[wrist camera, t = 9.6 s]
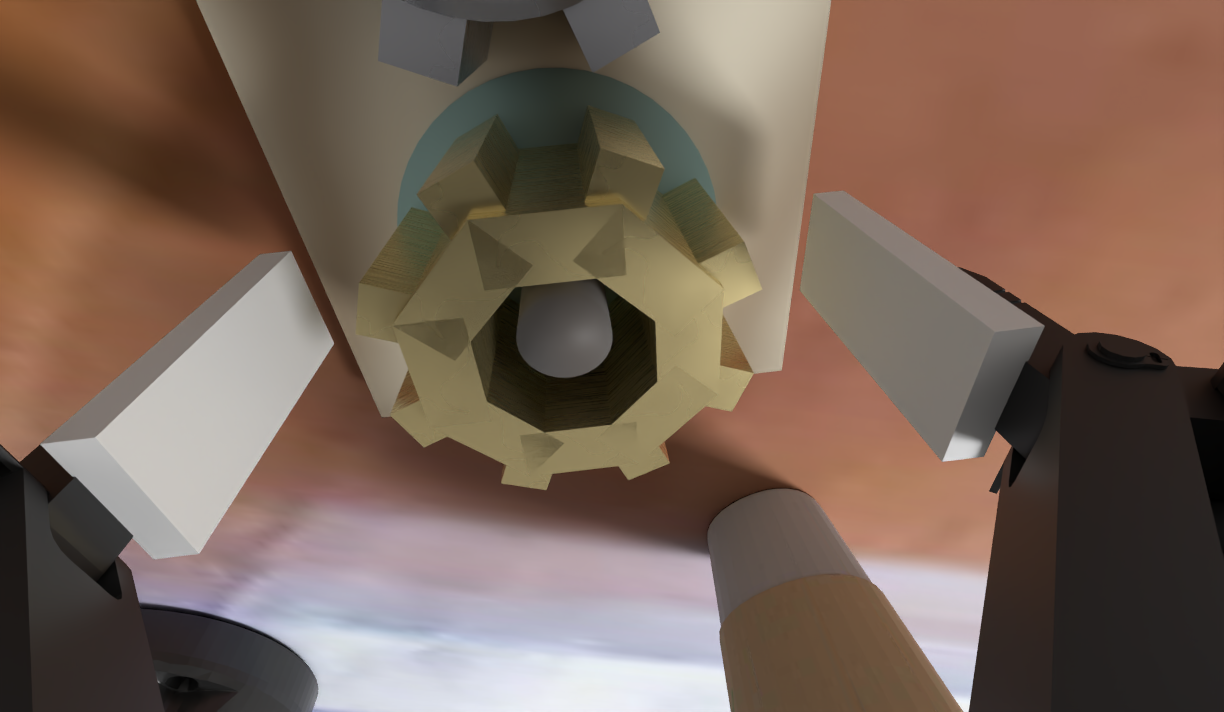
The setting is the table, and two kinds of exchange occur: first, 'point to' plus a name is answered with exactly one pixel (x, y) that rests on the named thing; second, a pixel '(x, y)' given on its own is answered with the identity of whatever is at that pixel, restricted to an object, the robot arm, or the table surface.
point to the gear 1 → (463, 20)
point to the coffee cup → (809, 617)
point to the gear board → (532, 143)
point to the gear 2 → (552, 253)
